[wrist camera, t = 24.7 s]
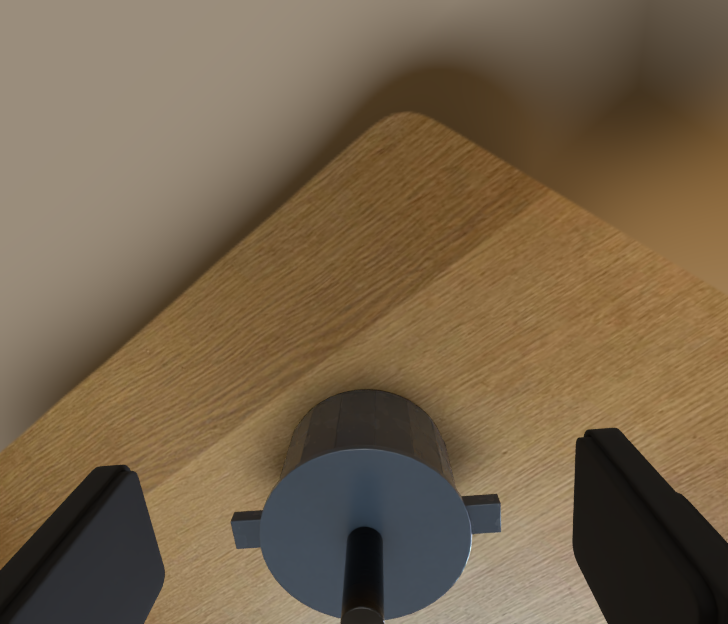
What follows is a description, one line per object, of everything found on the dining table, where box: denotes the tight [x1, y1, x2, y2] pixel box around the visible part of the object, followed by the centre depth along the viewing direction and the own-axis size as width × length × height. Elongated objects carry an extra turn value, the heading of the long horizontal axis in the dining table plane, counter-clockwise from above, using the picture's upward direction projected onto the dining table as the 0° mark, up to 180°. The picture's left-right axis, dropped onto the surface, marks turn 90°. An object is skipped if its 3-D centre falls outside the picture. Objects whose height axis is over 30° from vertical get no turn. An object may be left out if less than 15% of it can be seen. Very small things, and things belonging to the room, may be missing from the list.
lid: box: [259, 445, 472, 624], centre depth 29 cm, size 14×14×7 cm
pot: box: [231, 390, 501, 549], centre depth 36 cm, size 13×19×8 cm
